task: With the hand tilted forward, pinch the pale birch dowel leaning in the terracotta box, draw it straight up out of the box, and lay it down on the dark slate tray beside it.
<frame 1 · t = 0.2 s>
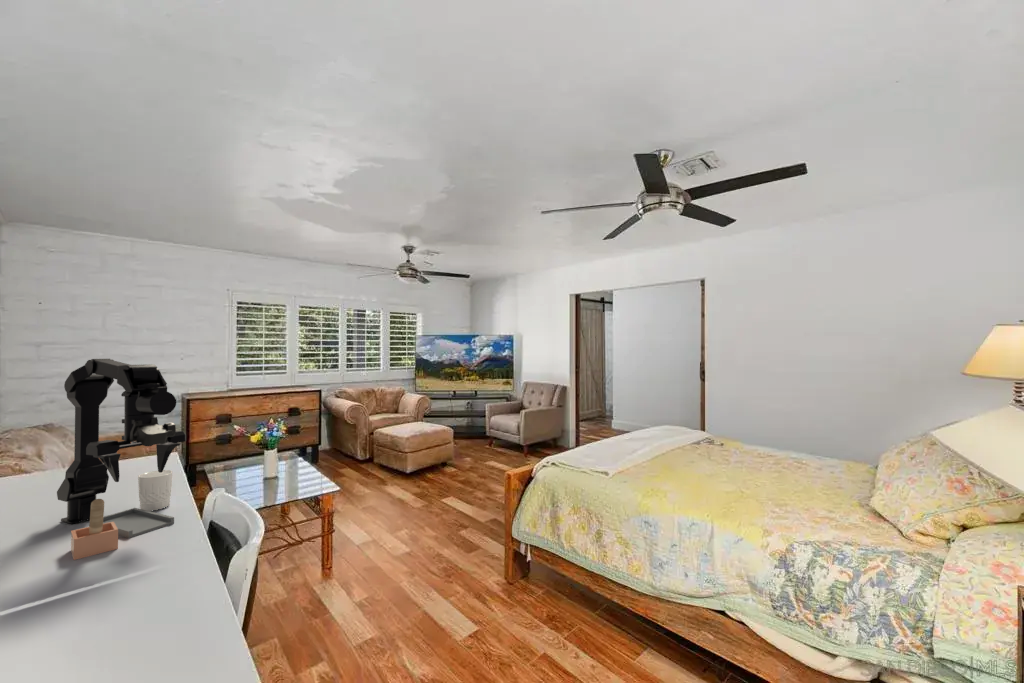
hand: (139, 476, 109), 15 cm above the table, tool pointing down, fingers open, 9 cm apart
terracotta box: (94, 552, 100), on the table
white cup: (155, 508, 129), on the table
birch dowel: (94, 550, 100), point 1 cm above the table, touching terracotta box
slate tray: (131, 527, 114), on the table
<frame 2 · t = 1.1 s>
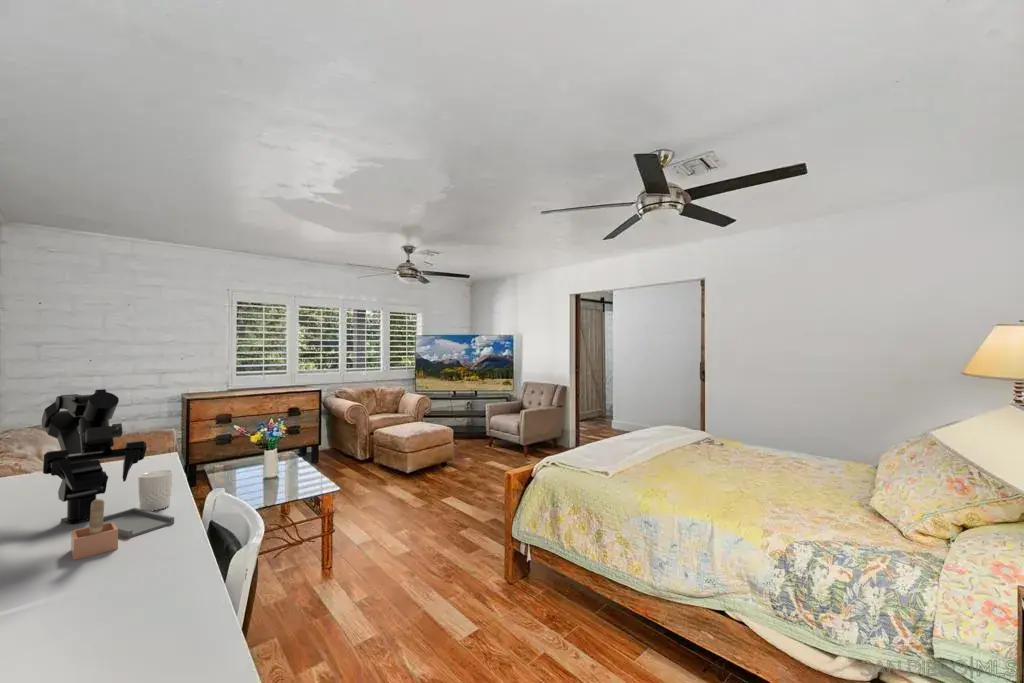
hand: (99, 484, 107), 13 cm above the table, tool tilted 45°, fingers open, 9 cm apart
nothing on the table moved.
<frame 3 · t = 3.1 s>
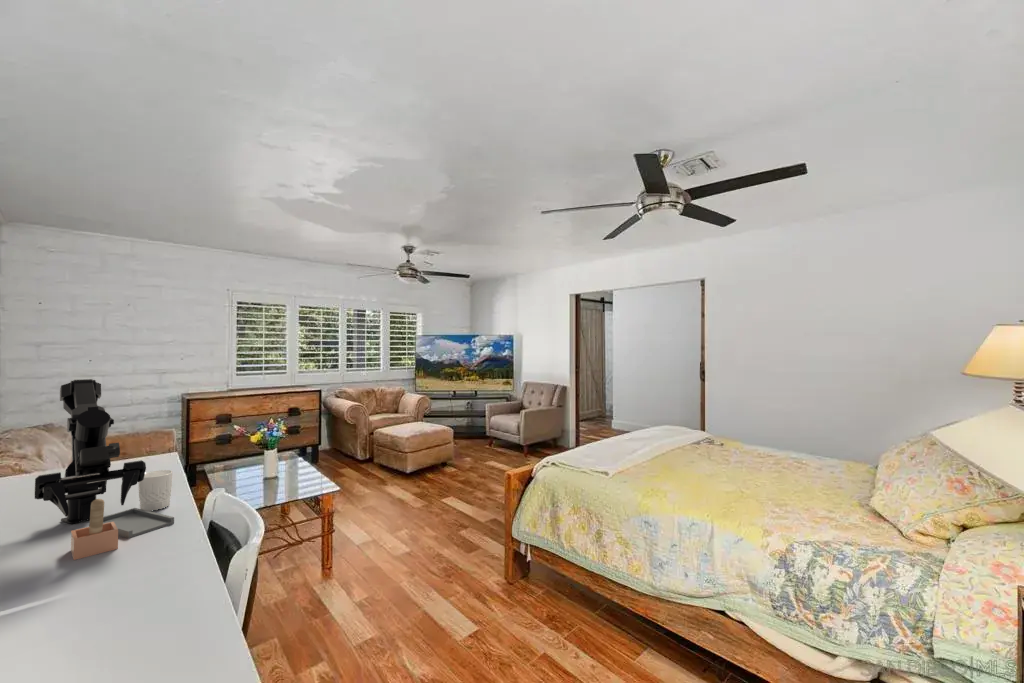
hand: (95, 509, 99), 10 cm above the table, tool tilted 45°, fingers open, 9 cm apart
nothing on the table moved.
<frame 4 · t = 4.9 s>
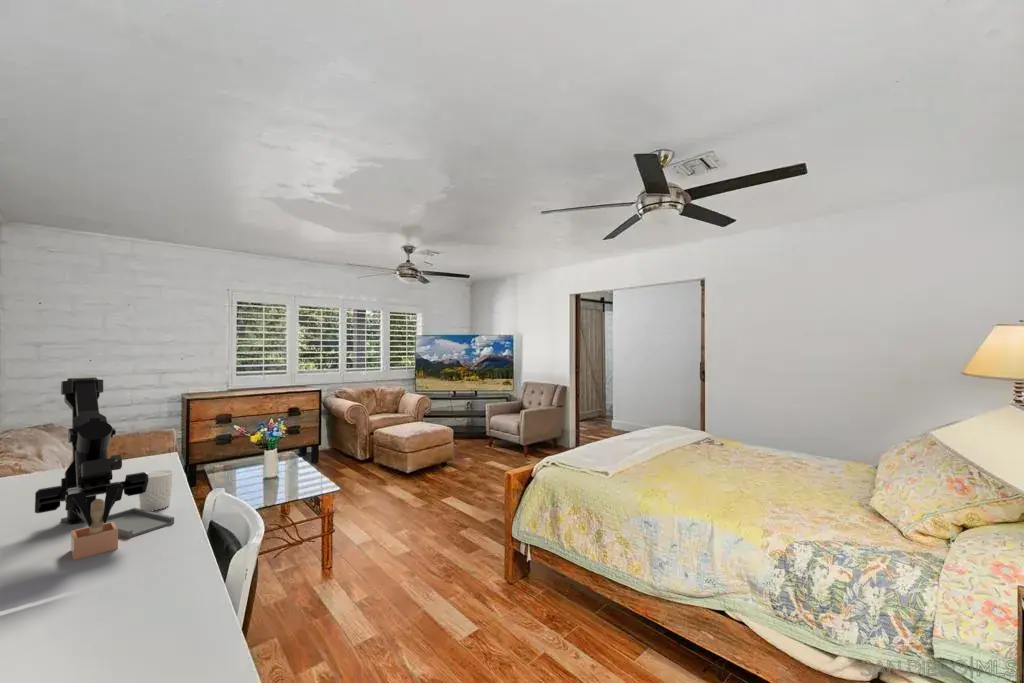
hand: (97, 523, 97), 8 cm above the table, tool tilted 45°, fingers closed on birch dowel, 2 cm apart
birch dowel: (94, 550, 100), point 1 cm above the table, touching gripper, terracotta box
everything else where it was.
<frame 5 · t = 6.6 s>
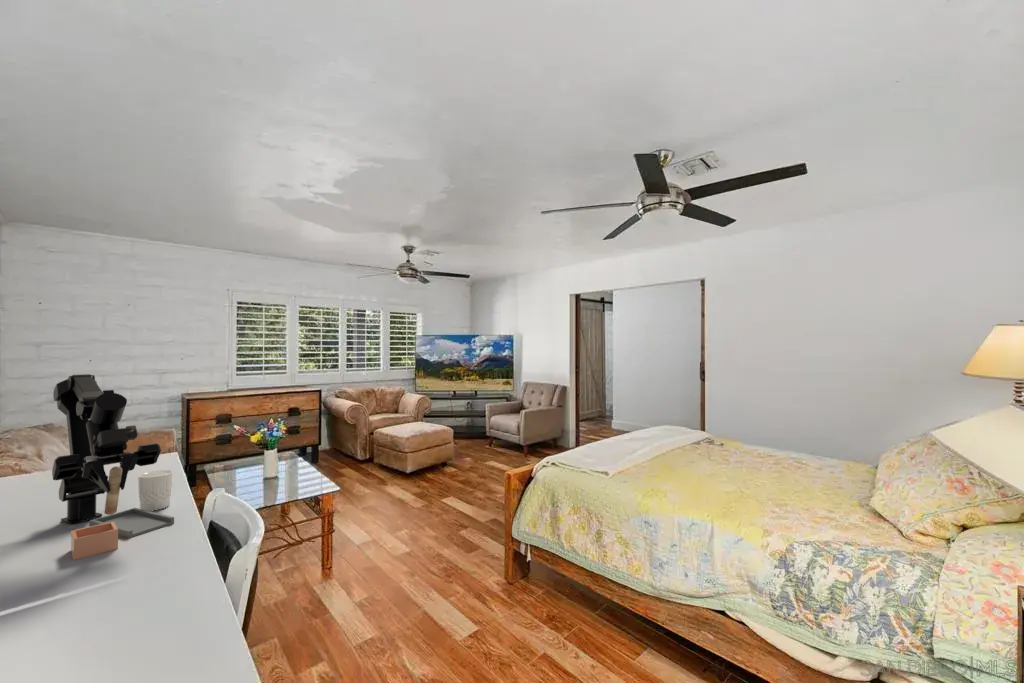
hand: (115, 490, 102), 14 cm above the table, tool tilted 45°, fingers closed on birch dowel, 2 cm apart
birch dowel: (110, 516, 104), point 7 cm above the table, touching gripper
everything else where it was.
when the fingers open (10 cm above the table, at t = 8.5 s): birch dowel drops 1 cm and tips over, resting on slate tray.
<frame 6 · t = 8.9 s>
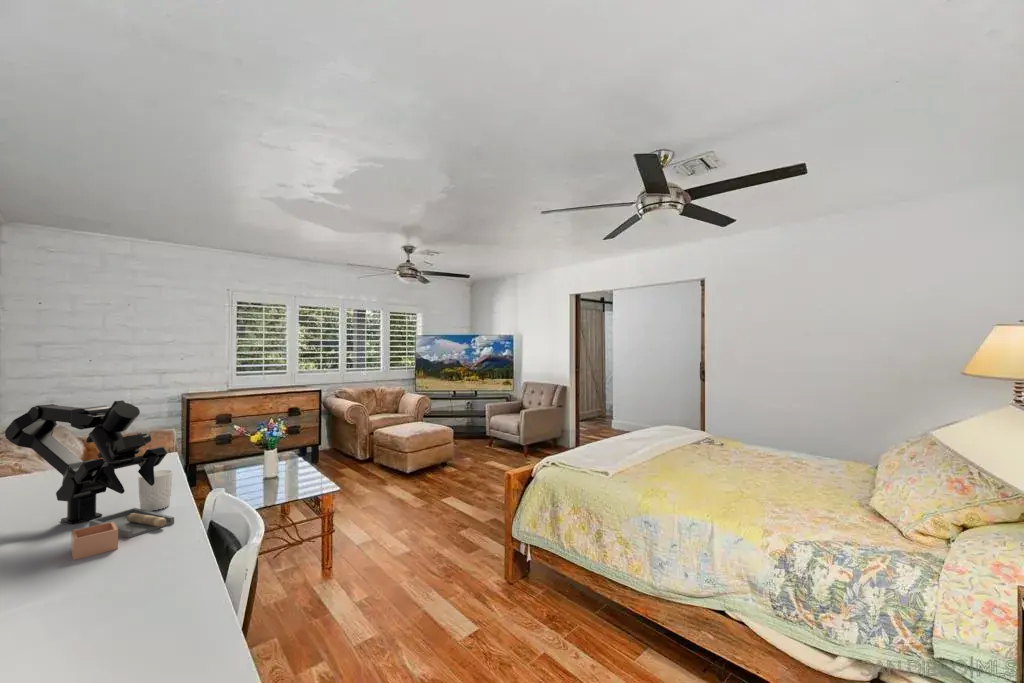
hand: (138, 488, 114), 10 cm above the table, tool tilted 45°, fingers open, 7 cm apart
birch dowel: (128, 518, 115), point 2 cm above the table, tilted 70°, touching slate tray
everything else where it was.
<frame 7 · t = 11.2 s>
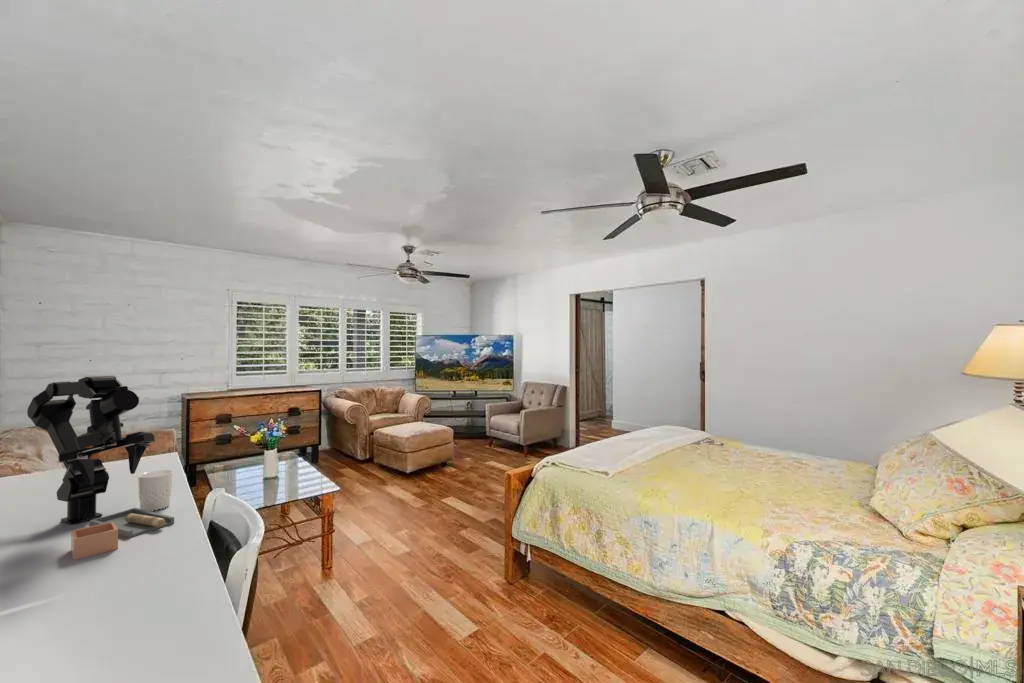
hand: (112, 479, 114), 13 cm above the table, tool tilted 20°, fingers open, 9 cm apart
nothing on the table moved.
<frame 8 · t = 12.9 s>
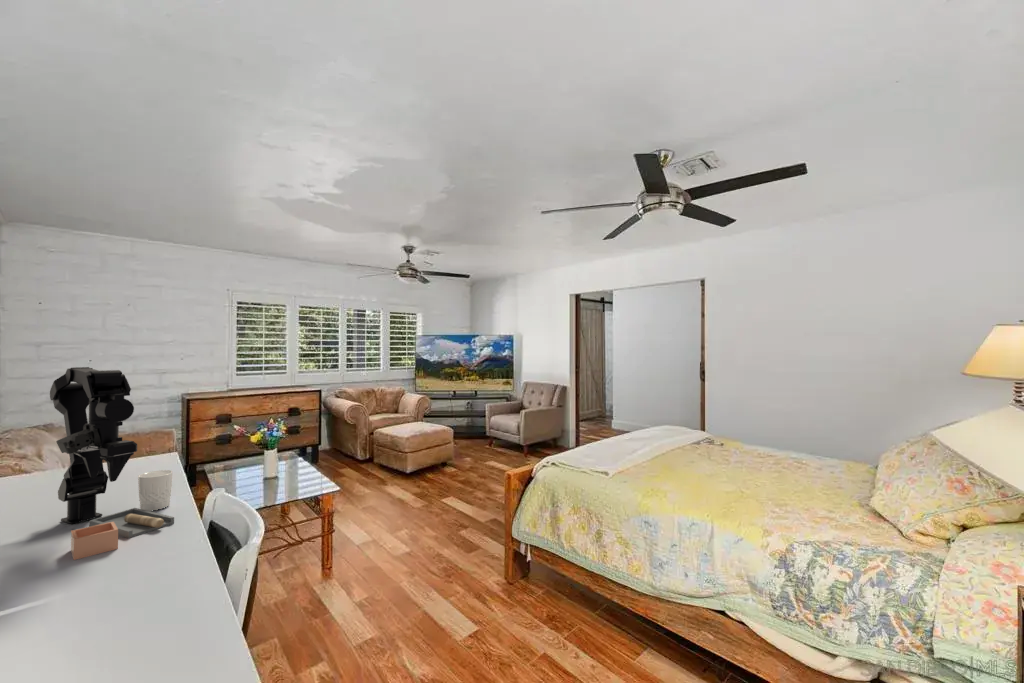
hand: (103, 479, 113), 13 cm above the table, tool pointing down, fingers open, 9 cm apart
nothing on the table moved.
at the end: birch dowel inside the target area on the slate tray (2.1 cm from its centre), point 2.0 cm above the slate tray's base; birch dowel tilted 73°; the gripper is holding nothing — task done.
